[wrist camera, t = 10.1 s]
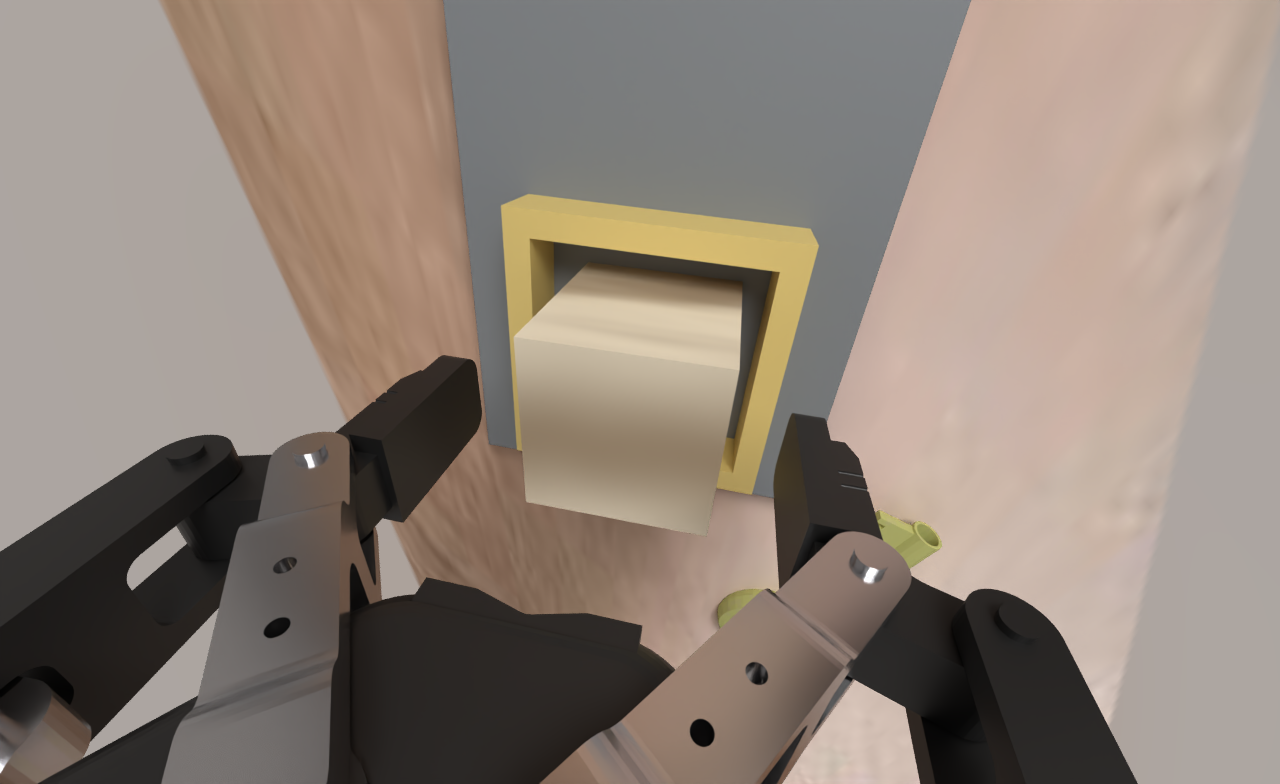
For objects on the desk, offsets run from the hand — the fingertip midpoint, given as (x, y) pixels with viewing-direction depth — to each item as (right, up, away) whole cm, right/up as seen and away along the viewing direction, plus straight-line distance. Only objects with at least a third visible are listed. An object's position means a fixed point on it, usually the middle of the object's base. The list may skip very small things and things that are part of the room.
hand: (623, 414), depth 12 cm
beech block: (+1, +2, +5) cm, 5 cm away
